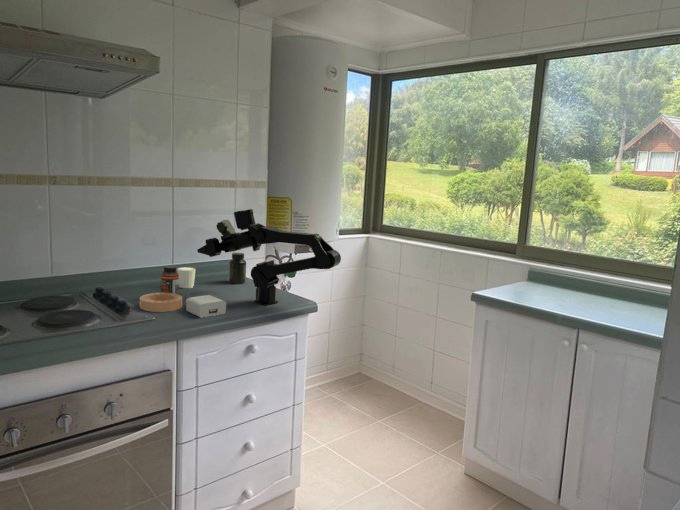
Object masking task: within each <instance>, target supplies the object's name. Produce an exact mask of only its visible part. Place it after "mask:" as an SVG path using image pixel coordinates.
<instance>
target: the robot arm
mask: <svg viewBox="0 0 680 510" xmlns="http://www.w3.org/2000/svg"><path fill="white" fill-rule="evenodd" d="M233 217H234V220H235V221H234V222H235V224H236V225H235V226H236V228H237V229H238V230H240V231H241V232H240V231H239V232H236V230H235V228H234V226H233V224H232V223H231V221H230V219H223V220H221V221H220V222H217V224H216V226H215V227H216V230H217V231H218V232H219V233H220V234H221V235H220V239H218V238H217V237H212V238H211V237H210V238H207V239H205V244H204V245H203V246H201V247H200V248H198V249H197V253H198V254H201V255H205V256H209V257H210V258H212V257H217V256H220V255H221V253H222V251H223V252H225V254H226V253H229V252H230V253H231V252H232V253H233V252H236V251H237V252H238V251H240V250H242V249H248V248H251V247H252V251H253V252H257V251H260V249H261V247H262V245H265V244H267V245H269V244H275V243H283V244H291V245H292V244H293V245H301V246H302V245H303V246H309V247H310V249H311V251H312V252H313V255H314V256H311V257H307V258H302V259H296V260H292V261H286V262H283V263H282V262H281V263H275V260H274V259H272V260H269V261H261V262H259V263H255V266H253V267H252V268H251V271H250V277H251V279H252V282H253V284H254V287H255V299H253V300H252V302H253V303H256V304H259V305H264V306H270V305H273V304H277V303H279V301H278V300H277V299H276V295H277V294H276V292H277V285H278V283H279V282H280V278H279V277H278V276H279V275H280V276H281V275H284V274H285V275H286V274H290V273H291V274H292V273H296V272H301V271H306V270H311V269H312V270H313V269H314V270H330V269H333V268H334V267H336V266H339V265H340V263H341V259H342V256H341V254H340V252H339V251H338V250H336V249H334V248H333V247H332V245H330V244H329V243H328V242H327V241H326V240H325V239H324V238H323V236H321V235H320V234H319V233H308V232H307V233H306V232H296V231H286V230H281V229H279V228H277V227H274V226H266V225H264V224H261V223H259V222H258V223H256V221H255V217H254V210H253V209H252V208H250V209H246V210H245V209H244V210H238V211H235V212H233ZM245 230H246V231H245ZM220 240H221V242H220Z"/></svg>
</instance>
